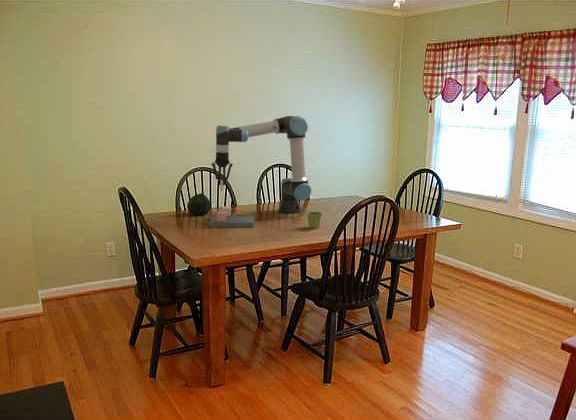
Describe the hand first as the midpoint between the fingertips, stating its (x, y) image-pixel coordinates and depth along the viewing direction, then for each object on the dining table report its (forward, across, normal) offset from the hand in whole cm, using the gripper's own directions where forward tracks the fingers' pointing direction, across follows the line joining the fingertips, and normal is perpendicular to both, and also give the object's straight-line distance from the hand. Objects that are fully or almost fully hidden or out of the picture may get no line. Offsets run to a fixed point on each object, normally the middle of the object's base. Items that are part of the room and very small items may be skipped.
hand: (221, 190), depth 306 cm
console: (+20, -7, +1) cm, 21 cm away
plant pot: (+19, -56, +11) cm, 60 cm away
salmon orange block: (+17, -1, +9) cm, 19 cm away
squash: (+20, +16, -24) cm, 35 cm away
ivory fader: (+16, -2, -6) cm, 18 cm away
